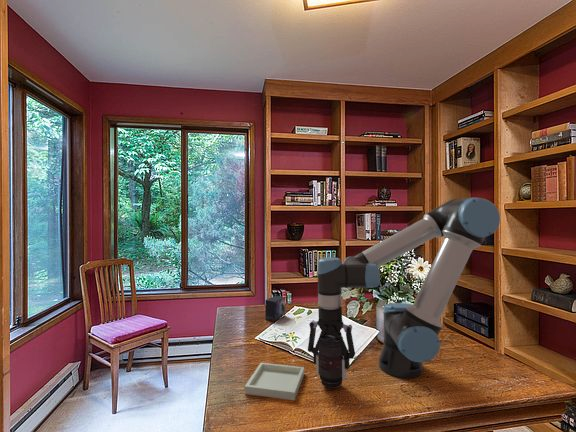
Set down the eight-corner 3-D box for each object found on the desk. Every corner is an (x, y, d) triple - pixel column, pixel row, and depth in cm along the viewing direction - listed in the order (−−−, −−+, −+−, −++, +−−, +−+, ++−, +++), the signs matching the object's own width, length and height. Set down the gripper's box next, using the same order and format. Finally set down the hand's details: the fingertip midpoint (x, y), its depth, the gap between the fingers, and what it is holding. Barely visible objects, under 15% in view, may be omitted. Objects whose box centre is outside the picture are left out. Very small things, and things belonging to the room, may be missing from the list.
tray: (304, 374, 114) (304, 367, 114) (294, 400, 98) (294, 392, 98) (260, 369, 118) (260, 362, 118) (244, 393, 102) (244, 386, 102)
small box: (275, 322, 166) (274, 301, 166) (264, 319, 170) (264, 299, 169) (286, 316, 175) (285, 296, 175) (275, 314, 179) (275, 295, 178)
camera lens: (344, 390, 101) (343, 342, 101) (318, 388, 103) (316, 341, 102) (344, 377, 109) (343, 332, 109) (320, 375, 111) (319, 331, 110)
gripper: (364, 305, 105) (365, 375, 105) (304, 299, 113) (305, 365, 113) (359, 312, 98) (361, 387, 98) (295, 306, 106) (297, 375, 106)
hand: (331, 375), depth 106 cm, fingers closed on camera lens, 8 cm apart
